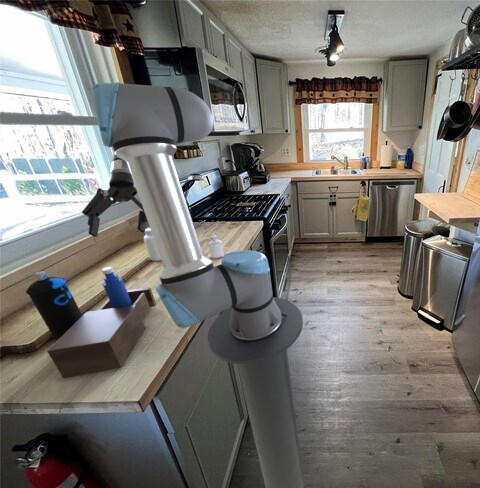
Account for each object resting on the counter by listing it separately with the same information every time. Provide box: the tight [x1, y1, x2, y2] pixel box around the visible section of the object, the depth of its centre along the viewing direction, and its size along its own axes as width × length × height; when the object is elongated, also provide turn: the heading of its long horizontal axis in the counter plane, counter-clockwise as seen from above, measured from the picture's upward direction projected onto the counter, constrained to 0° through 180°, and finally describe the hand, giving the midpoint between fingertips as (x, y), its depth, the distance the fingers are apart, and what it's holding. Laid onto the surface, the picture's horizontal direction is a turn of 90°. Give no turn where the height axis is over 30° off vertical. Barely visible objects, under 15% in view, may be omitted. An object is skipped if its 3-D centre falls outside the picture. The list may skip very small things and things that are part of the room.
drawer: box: [97, 287, 157, 322], centre depth 82 cm, size 18×12×7 cm, turn 12°
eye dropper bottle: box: [208, 232, 225, 259], centre depth 122 cm, size 4×6×12 cm
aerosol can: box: [25, 270, 83, 339], centre depth 76 cm, size 8×8×20 cm
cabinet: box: [46, 305, 146, 379], centre depth 69 cm, size 15×13×9 cm
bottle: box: [101, 266, 132, 308], centre depth 78 cm, size 5×5×17 cm
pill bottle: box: [143, 227, 162, 262], centre depth 123 cm, size 8×8×15 cm
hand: (117, 233), depth 81 cm, fingers open, 13 cm apart
